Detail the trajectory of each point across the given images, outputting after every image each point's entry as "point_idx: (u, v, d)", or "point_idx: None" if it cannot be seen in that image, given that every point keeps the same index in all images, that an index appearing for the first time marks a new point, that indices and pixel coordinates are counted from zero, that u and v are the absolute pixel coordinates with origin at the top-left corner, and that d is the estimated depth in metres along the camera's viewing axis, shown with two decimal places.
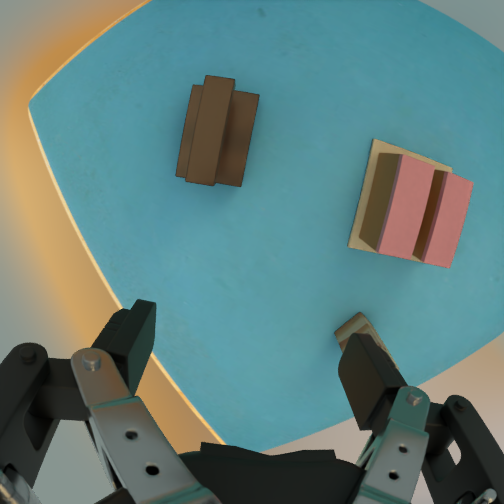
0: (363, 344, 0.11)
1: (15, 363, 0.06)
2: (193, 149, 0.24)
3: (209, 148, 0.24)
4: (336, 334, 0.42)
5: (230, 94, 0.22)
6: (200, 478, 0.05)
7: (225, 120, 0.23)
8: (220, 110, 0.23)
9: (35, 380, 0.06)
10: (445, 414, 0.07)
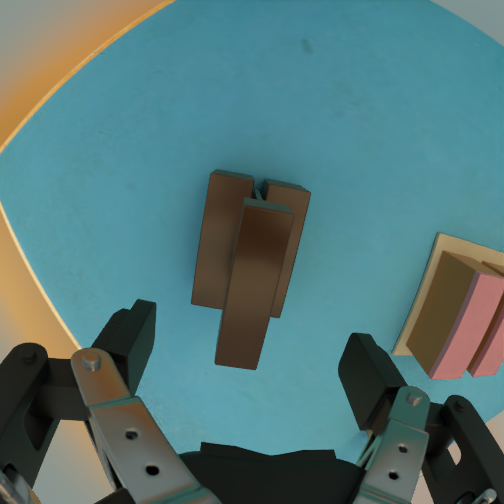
0: (363, 344, 0.11)
1: (15, 363, 0.06)
2: (225, 326, 0.16)
3: (250, 325, 0.16)
4: (367, 430, 0.34)
5: (286, 242, 0.15)
6: (200, 478, 0.05)
7: (276, 285, 0.15)
8: (268, 270, 0.15)
9: (35, 380, 0.06)
10: (445, 414, 0.07)
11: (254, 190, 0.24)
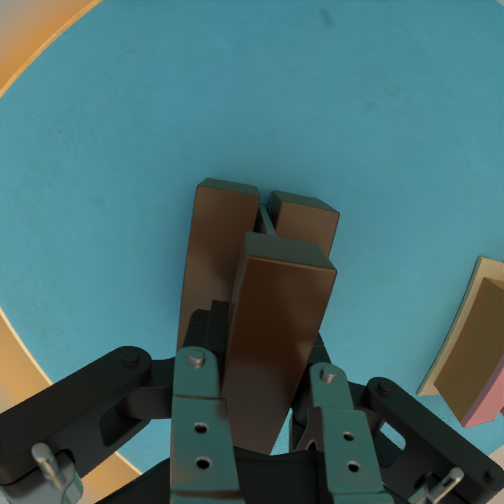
0: None
1: (113, 362, 0.07)
2: None
3: (256, 426, 0.09)
4: None
5: (320, 317, 0.08)
6: None
7: (300, 377, 0.09)
8: (288, 359, 0.09)
9: (128, 384, 0.07)
10: (371, 402, 0.08)
11: (259, 207, 0.18)
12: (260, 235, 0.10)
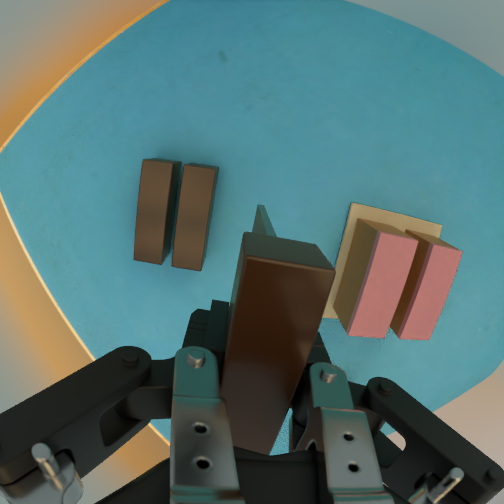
0: None
1: (113, 362, 0.07)
2: None
3: (256, 427, 0.09)
4: None
5: (319, 317, 0.08)
6: None
7: (299, 377, 0.09)
8: (287, 359, 0.09)
9: (128, 385, 0.07)
10: (371, 402, 0.08)
11: (258, 207, 0.18)
12: (259, 236, 0.10)
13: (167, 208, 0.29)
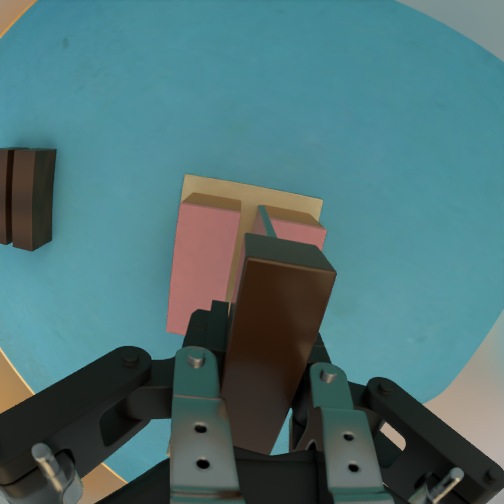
0: None
1: (113, 362, 0.07)
2: None
3: (256, 427, 0.09)
4: None
5: (320, 318, 0.08)
6: None
7: (299, 378, 0.09)
8: (287, 360, 0.09)
9: (128, 384, 0.07)
10: (371, 402, 0.08)
11: (259, 208, 0.18)
12: (260, 236, 0.10)
13: (6, 192, 0.24)
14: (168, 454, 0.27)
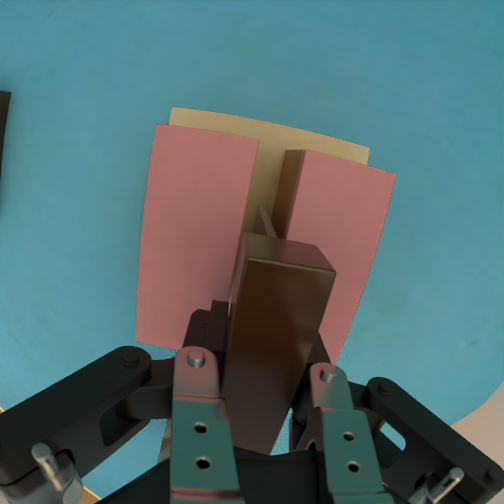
0: None
1: (113, 362, 0.07)
2: None
3: (256, 427, 0.09)
4: (167, 423, 0.25)
5: (320, 318, 0.08)
6: None
7: (299, 378, 0.09)
8: (287, 360, 0.09)
9: (128, 384, 0.07)
10: (371, 402, 0.08)
11: (259, 207, 0.18)
12: (260, 236, 0.10)
13: None
14: None
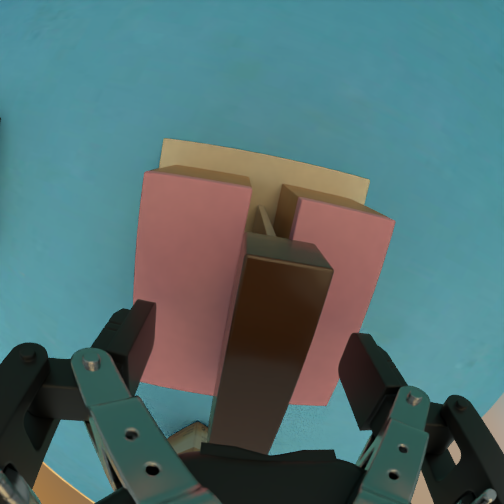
0: (363, 344, 0.11)
1: (15, 363, 0.06)
2: (219, 424, 0.10)
3: (255, 423, 0.10)
4: None
5: (318, 315, 0.08)
6: (200, 478, 0.05)
7: (298, 374, 0.09)
8: (286, 356, 0.09)
9: (35, 380, 0.06)
10: (445, 414, 0.07)
11: (258, 207, 0.18)
12: (259, 235, 0.10)
13: None
14: None
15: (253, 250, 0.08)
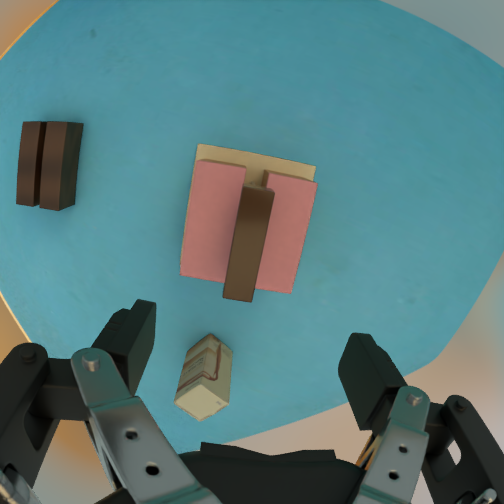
0: (363, 344, 0.11)
1: (15, 363, 0.06)
2: (231, 267, 0.24)
3: (247, 267, 0.24)
4: (186, 354, 0.40)
5: (270, 210, 0.23)
6: (200, 478, 0.05)
7: (264, 238, 0.24)
8: (259, 228, 0.23)
9: (35, 380, 0.06)
10: (445, 414, 0.07)
11: (251, 182, 0.32)
12: (248, 184, 0.24)
13: (36, 158, 0.28)
14: (175, 402, 0.31)
15: (245, 186, 0.23)
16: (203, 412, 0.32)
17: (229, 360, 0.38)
